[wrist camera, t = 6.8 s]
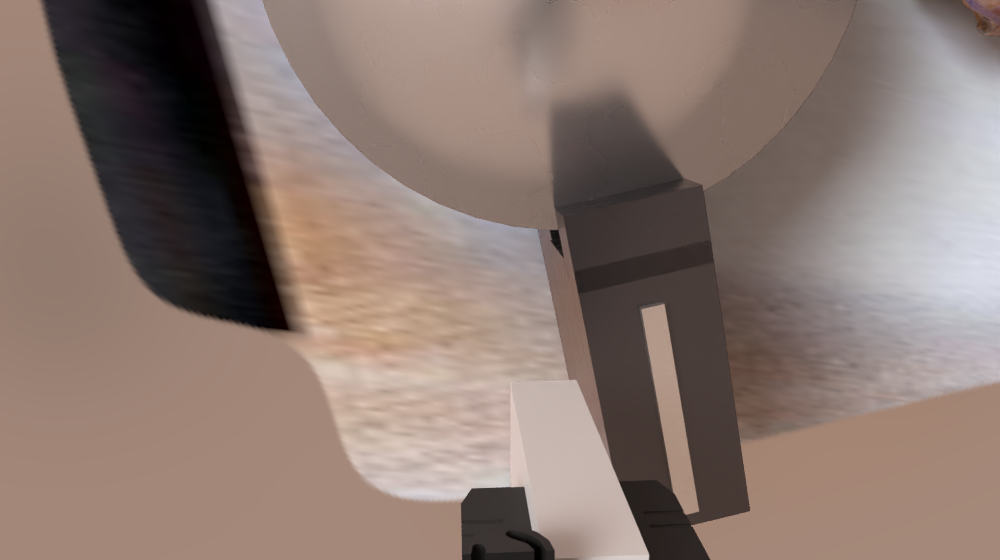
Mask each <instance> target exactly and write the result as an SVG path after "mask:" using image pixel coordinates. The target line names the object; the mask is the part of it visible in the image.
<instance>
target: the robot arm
mask: <svg viewBox="0 0 1000 560" xmlns="http://www.w3.org/2000/svg"><path fill="white" fill-rule="evenodd" d="M510 409H511V487H503V488H476V489H471V491H470V492H469V493H468V495H467V496H466V498H465V499H464V500H463V502H462V503H461V520H462V521H461V522H462V560H710V559H709V557H708V555H707V553H706V551H705V549H704V547H703V545H702V544H701V542H700V540H699V538H698V536H697V534H696V533H695V531H694V529H693V527H691V523H690V521H689V519H688V518H687V516H686V514H685V513H684V511H683V508H682V506H681V505H680V503H679V501H678V499H677V497H676V495H675V494H674V493H673V492H672V491H670V490H669V489H668V488H666V487H665V486H664V485H662V484H661V483H660V482H658V481H657V480H641V481H618V479H617V476H616V474H615V471H614V469H613V467H612V464H611V462H610V459H609V457H608V455H607V452H606V450H605V447H604V445H603V443H602V440H601V438H600V435H599V433H598V431H597V428H596V426H595V423H594V421H593V419H592V416H591V414H590V411H589V409H588V407H587V404H586V402H585V399H584V397H583V395H582V392H581V390H580V387H579V385H578V383H577V380H552V381H517V382H510Z"/></svg>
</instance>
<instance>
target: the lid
mask: <svg viewBox="0 0 1000 560" xmlns="http://www.w3.org/2000/svg"><path fill="white" fill-rule="evenodd" d="M262 1H263V3H264V6H265V9H266V12H267V15H268V18H269V21H270V24H271V26H272V28H273V31H274V33H275V35H276V37H277V39H278V41H279V43H280V45H281V47H282V49H283V51H284V53H285V55H286V57H287V59H288V61H289V63H290V65H291V67H292V69H293V70H294V72H295V73H296V75H297V76H298V78H299V79H300V81H301V82H302V84H303V85H304V87H305V88H306V90H307V91H308V93H309V95H310V96H311V98H312V99H313V101H314V102H315V103H316V105H317V106H318V107H319V108H320V109H321V111H322V112H323V113H324V114H325V115H326V116H327V118H328V119H329V120H330V121H331V122H332V124H333V125H334V126H335V127H336V128H337V129H338V131H339V132H340V133H341V134H342V135H343V136H344V137H345V138H346V139H347V140H348V141H349V142H350V143H352V144H353V145H354V146H355V147H356V148H357V149H358V150H359V151H360V152H361V153H362V154H363V155H365V156H366V157H367V158H368V159H369V160H370V161H371V162H372V163H374V164H375V165H376V166H378V167H379V168H381V169H382V170H383V171H385V172H386V173H388V174H389V175H391V176H392V177H393V178H395V179H396V180H398V181H399V182H400V183H402V184H403V185H405V186H406V187H408V188H410V189H412V190H414V191H416V192H418V193H420V194H422V195H423V196H425V197H427V198H429V199H431V200H433V201H435V202H437V203H438V204H441V205H443V206H446V207H449V208H451V209H454V210H457V211H459V212H462V213H465V214H467V215H470V216H473V217H475V218H479V219H484V220H488V221H492V222H497V223H501V224H505V225H510V226H515V227H526V228H536V229H546V230H559V235H560V238H558V239H553V240H550V244H551V249H552V254H553V259H554V264H555V269H556V274H557V279H558V284H559V288H560V293H561V298H562V303H563V308H564V313H565V318H566V323H567V328H568V333H569V338H570V343H571V348H572V352H573V357H574V362H575V367H576V372H577V377H578V382H579V387H580V390H581V392H582V395H583V397H584V399H585V402H586V404H587V407H588V409H589V411H590V414H591V416H592V419H593V421H594V423H595V426H596V428H597V431H598V433H599V435H600V438H601V440H602V443H603V445H604V447H605V450H606V452H607V455H608V457H609V459H610V462H611V464H612V467H613V469H614V471H615V474H616V476H617V479H618V481H641V480H657V481H658V482H660V483H661V484H662V485H664V486H665V487H666V488H668V489H669V490H670V491H672V492H673V493H674V494H675V495H676V497H677V499H678V501H679V503H680V505H681V506H682V508H683V511H684V513H685V514H686V516H687V518H688V519H689V521H690V523H691V525H695V524H698V523H702V522H707V521H711V520H715V519H719V518H723V517H727V516H732V515H736V514H739V513H744V512H748V511H750V507H749V500H748V493H747V487H746V479H745V473H744V466H743V459H742V452H741V445H740V438H739V431H738V425H737V418H736V411H735V404H734V397H733V390H732V384H731V377H730V370H729V363H728V356H727V349H726V343H725V336H724V329H723V322H722V315H721V308H720V302H719V295H718V288H717V281H716V274H715V267H714V261H713V254H712V247H711V240H710V233H709V226H708V219H707V213H706V206H705V199H704V192H703V191H705V190H707V189H708V188H710V187H712V186H713V185H715V184H717V183H718V182H720V181H722V180H723V179H725V178H727V177H728V176H729V175H731V174H732V173H733V172H734V171H736V170H737V169H738V168H740V167H741V166H742V165H743V164H745V163H746V162H747V161H748V160H750V159H751V158H752V157H754V156H755V155H756V154H757V153H759V152H760V151H761V150H762V149H763V148H764V147H765V146H766V145H767V144H768V143H769V142H770V141H771V140H772V139H773V138H774V137H775V136H776V135H777V134H778V133H779V132H780V131H781V130H782V129H783V128H784V127H785V126H786V125H787V123H788V122H789V121H790V120H791V118H792V117H793V116H794V114H795V113H796V112H797V111H798V109H799V108H800V107H801V106H802V104H803V103H804V102H805V101H806V99H807V98H808V97H809V95H810V94H811V93H812V91H813V90H814V88H815V86H816V85H817V83H818V81H819V80H820V78H821V77H822V75H823V73H824V72H825V70H826V68H827V67H828V65H829V64H830V62H831V60H832V59H833V57H834V55H835V52H836V50H837V48H838V46H839V44H840V42H841V40H842V37H843V35H844V33H845V31H846V29H847V27H848V25H849V22H850V20H851V17H852V14H853V11H854V8H855V5H856V2H857V0H262Z"/></svg>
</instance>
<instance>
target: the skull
mask: <svg viewBox="0 0 1000 560" xmlns="http://www.w3.org/2000/svg"><path fill="white" fill-rule="evenodd" d="M962 2H963V3H964V5H965V6H966V7H967V8H969V9H971V10H973V12H974V15H975V18H976V20H977V30H978V31H979V32H981V33H982V34H983V35H986V36H1000V0H962Z"/></svg>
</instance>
